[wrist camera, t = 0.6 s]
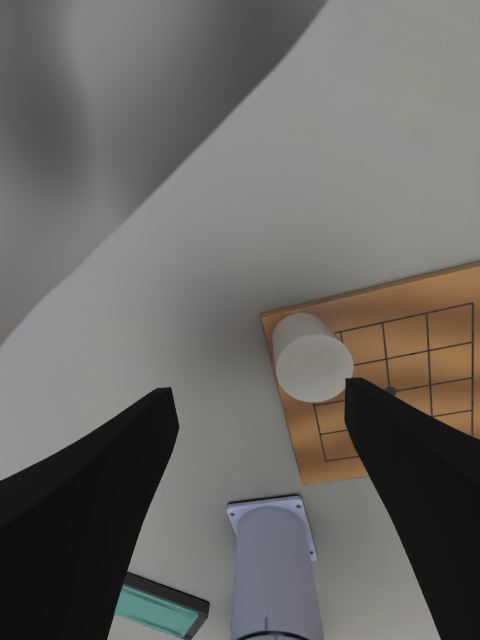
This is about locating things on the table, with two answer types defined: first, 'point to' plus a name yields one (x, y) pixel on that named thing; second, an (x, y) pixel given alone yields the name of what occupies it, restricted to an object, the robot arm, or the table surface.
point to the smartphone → (161, 608)
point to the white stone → (310, 358)
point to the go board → (392, 361)
